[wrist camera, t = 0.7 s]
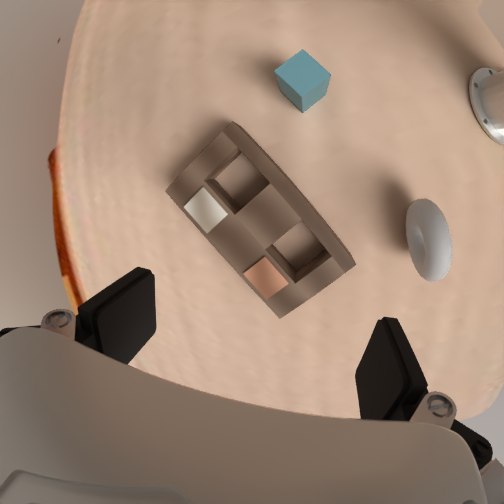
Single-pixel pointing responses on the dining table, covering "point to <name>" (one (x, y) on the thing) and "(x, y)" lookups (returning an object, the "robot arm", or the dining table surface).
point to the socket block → (258, 223)
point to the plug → (302, 80)
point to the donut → (428, 240)
